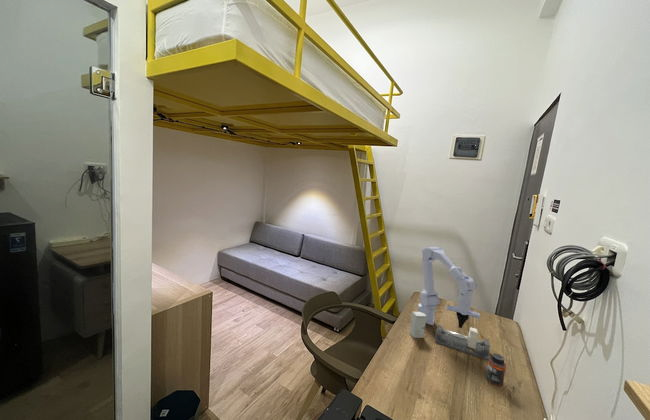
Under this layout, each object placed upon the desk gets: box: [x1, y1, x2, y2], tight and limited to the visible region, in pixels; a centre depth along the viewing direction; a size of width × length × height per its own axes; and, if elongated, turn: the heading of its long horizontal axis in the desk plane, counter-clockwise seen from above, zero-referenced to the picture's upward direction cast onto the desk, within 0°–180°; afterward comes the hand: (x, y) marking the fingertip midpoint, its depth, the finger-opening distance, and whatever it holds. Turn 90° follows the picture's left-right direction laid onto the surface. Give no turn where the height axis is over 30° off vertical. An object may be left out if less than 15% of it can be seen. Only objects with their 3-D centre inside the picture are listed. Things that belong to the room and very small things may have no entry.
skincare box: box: [409, 311, 427, 339], centre depth 127 cm, size 6×4×12 cm
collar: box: [467, 327, 479, 349], centre depth 121 cm, size 3×5×8 cm, turn 154°
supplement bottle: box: [485, 352, 507, 387], centre depth 100 cm, size 6×6×11 cm
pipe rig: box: [434, 324, 492, 361], centre depth 123 cm, size 24×12×6 cm, turn 64°
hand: (460, 326), depth 123 cm, fingers closed
